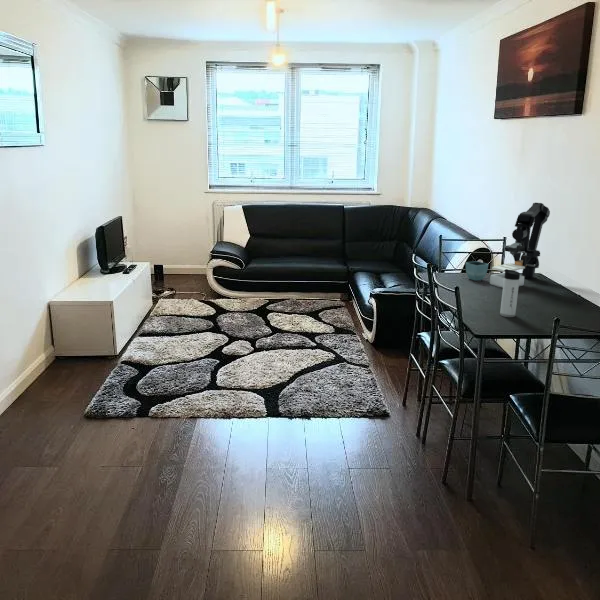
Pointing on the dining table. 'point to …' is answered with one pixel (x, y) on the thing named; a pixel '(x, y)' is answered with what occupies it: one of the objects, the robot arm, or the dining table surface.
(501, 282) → the white open box
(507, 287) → the travel mug
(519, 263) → the lid
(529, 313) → the dining table surface
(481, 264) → the flower pot
